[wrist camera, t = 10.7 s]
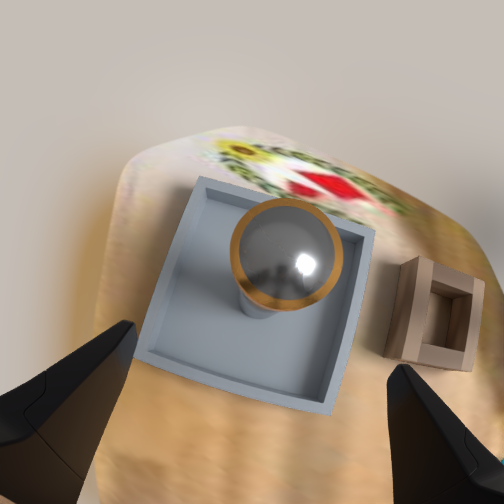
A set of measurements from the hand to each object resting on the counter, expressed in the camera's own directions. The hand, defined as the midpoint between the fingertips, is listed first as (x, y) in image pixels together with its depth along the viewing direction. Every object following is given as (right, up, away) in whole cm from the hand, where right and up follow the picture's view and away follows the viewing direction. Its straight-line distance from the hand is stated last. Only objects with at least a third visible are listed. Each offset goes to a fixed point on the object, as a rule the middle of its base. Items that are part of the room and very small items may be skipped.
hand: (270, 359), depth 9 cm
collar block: (+15, -3, +13) cm, 20 cm away
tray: (0, 0, +13) cm, 13 cm away
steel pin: (0, 0, +13) cm, 13 cm away
